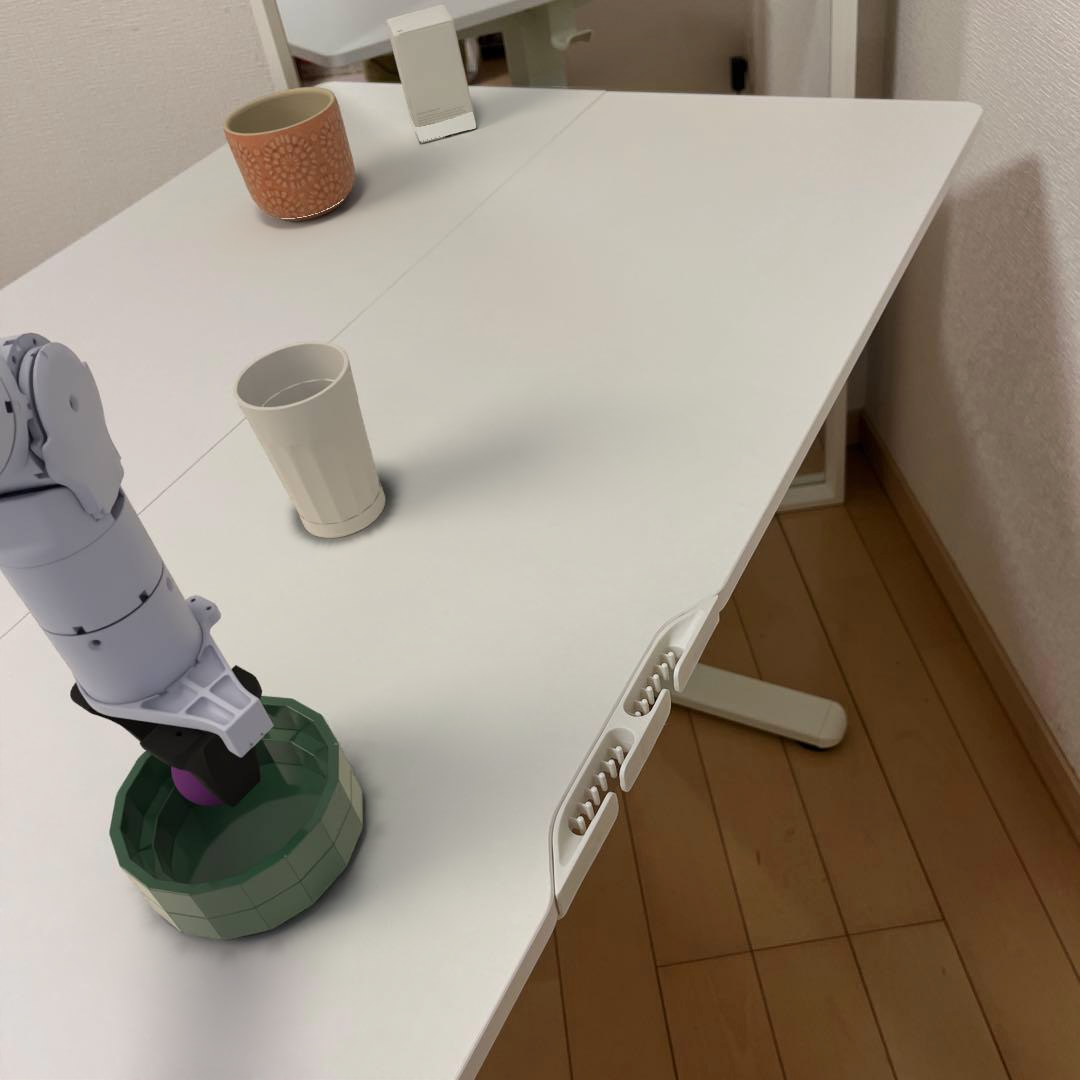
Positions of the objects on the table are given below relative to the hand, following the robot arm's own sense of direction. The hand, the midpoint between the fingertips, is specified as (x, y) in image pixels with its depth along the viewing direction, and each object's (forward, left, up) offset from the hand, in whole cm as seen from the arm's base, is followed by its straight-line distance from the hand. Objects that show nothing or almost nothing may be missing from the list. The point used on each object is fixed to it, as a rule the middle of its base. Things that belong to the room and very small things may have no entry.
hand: (216, 773), depth 57 cm
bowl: (0, 0, -6) cm, 6 cm away
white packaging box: (+82, +56, -6) cm, 99 cm away
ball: (0, 0, +1) cm, 1 cm away
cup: (+23, +16, -6) cm, 29 cm away
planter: (+60, +58, -6) cm, 84 cm away
